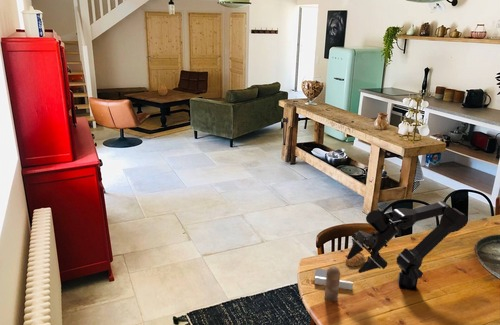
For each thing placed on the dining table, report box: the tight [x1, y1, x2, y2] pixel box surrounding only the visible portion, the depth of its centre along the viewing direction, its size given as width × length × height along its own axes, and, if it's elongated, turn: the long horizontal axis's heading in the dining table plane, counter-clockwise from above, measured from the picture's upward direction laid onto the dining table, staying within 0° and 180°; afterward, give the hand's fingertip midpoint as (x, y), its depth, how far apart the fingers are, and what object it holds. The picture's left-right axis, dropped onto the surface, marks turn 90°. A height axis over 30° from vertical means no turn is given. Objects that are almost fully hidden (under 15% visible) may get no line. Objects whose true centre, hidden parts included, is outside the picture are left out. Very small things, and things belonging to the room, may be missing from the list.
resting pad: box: [313, 268, 328, 280], centre depth 170 cm, size 7×7×1 cm
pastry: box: [345, 251, 367, 267], centre depth 179 cm, size 9×7×4 cm
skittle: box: [324, 266, 341, 302], centre depth 154 cm, size 5×5×14 cm
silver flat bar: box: [314, 275, 354, 291], centre depth 163 cm, size 15×1×3 cm, turn 76°
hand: (353, 265), depth 154 cm, fingers open, 9 cm apart
